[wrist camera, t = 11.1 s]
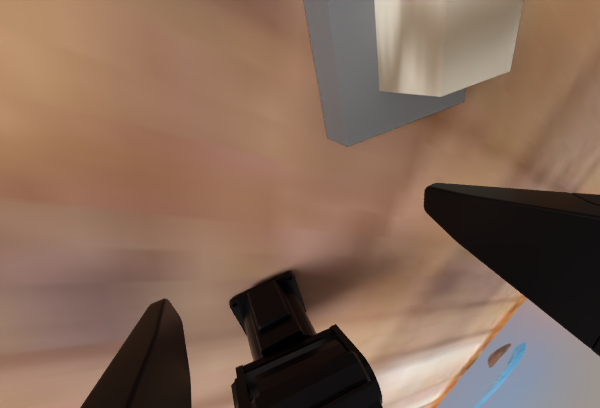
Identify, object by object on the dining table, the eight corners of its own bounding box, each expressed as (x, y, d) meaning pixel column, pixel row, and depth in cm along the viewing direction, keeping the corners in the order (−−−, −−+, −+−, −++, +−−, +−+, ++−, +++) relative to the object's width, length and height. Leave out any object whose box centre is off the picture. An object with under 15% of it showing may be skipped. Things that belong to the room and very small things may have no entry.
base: (434, 98, 23) (464, 101, 21) (327, 138, 21) (347, 147, 18) (442, -70, 18) (485, -93, 15) (296, -42, 15) (318, -64, 13)
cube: (437, 71, 19) (510, 71, 14) (379, 91, 17) (440, 96, 13) (441, -17, 16) (532, -48, 12) (374, -1, 15) (448, -29, 11)
